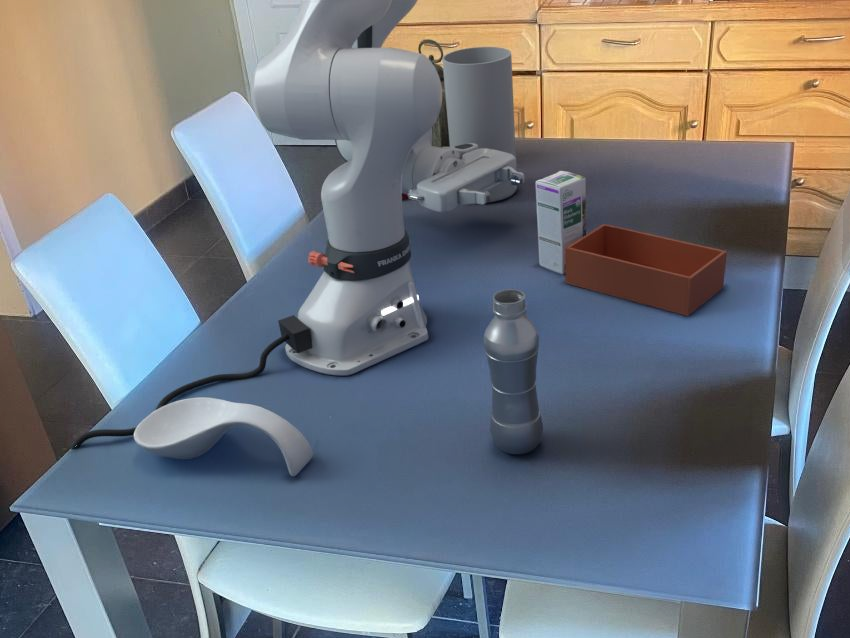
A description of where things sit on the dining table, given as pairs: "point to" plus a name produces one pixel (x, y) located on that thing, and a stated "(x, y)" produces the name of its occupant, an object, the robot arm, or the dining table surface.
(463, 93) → the cylinder vase
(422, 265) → the dining table surface
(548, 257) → the syrup box
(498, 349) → the plastic bottle
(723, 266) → the bin
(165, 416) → the spoon rest
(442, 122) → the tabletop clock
